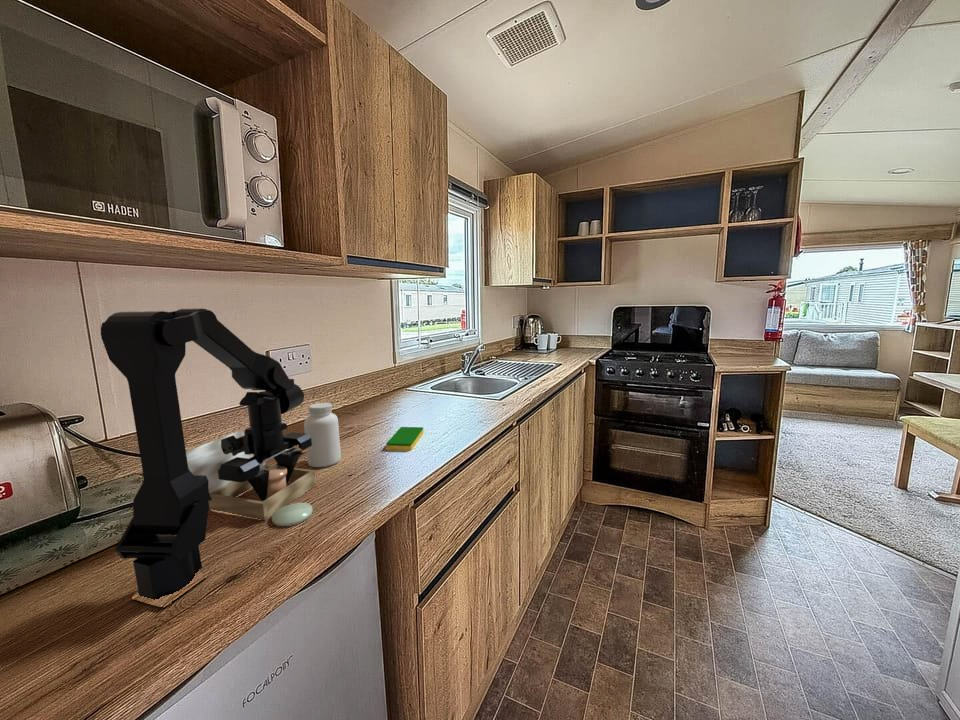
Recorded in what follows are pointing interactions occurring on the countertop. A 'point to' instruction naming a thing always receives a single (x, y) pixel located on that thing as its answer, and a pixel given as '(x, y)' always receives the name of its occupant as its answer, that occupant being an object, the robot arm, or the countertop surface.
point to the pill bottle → (322, 436)
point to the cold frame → (225, 492)
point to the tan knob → (276, 480)
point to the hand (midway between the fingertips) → (273, 493)
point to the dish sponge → (405, 438)
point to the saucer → (292, 514)
